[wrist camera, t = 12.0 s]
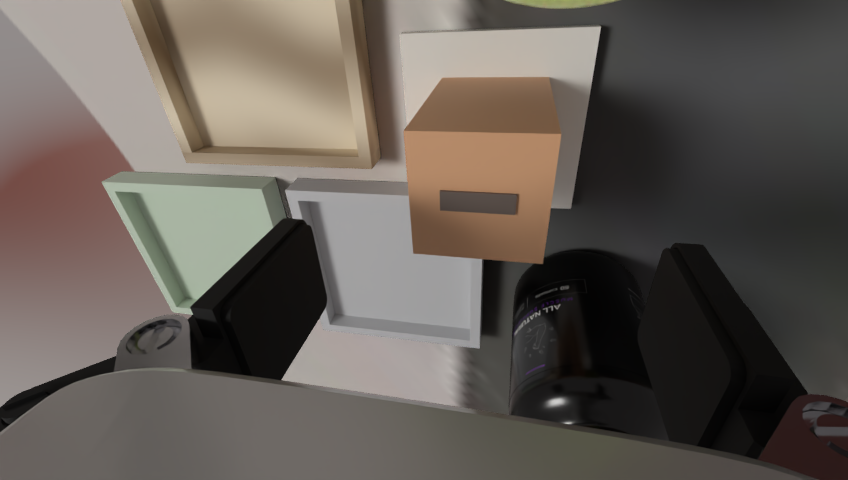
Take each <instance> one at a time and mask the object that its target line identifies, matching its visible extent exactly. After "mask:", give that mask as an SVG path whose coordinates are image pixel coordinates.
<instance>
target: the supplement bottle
mask: <svg viewBox="0 0 848 480" xmlns="http://www.w3.org/2000/svg"><path fill="white" fill-rule="evenodd" d="M645 306H646V305H645V302H644V299H643V296H642V293H641V291H640V288H639V286H638V283H637V281H636V280H635V278H634V276H633V275H632V274H631V273H630V272H629V271H628V270H627V269H626V268H625V267H624V266H623V265H622V264H620V263H619V262H617V261H615V260H613V259H611V258H609V257H607V256H604V255H601V254H598V253H593V252H586V251H569V252H562V253H557V254H554V255H551V256H548V257H546V258H544V259H543V264H536V263H535V264H533V265H532V266H531V267H530V268H528V269H527V270H526V271H525V273H524V274H523V275H522V276H521V278H520V280H519V282H518V284H517V286H516V289H515V295H514V306H513V326H512V347H511V368H510V389H509V415H513V416H520V417H526V418H532V419H539V420H545V421H551V422H557V423H564V424H570V425H576V426H583V427H589V428H595V429H602V430H608V431H614V432H619V433H625V434H631V435H637V436H642V437H648V438H654V439H660V440H666V441H669V438H668V435H667V432H666V429H665V426H664V423H663V419H662V416H661V413H660V410H659V407H658V404H657V401H656V397H655V394H654V391H653V388H652V385H651V382H650V379H649V375H648V372H647V369H646V366H645V363H644V360H643V357H642V353H641V350H640V347H639V344H638V329H639V325H640V322H641V319H642V316H643V312H644V309H645Z"/></svg>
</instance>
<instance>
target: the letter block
mask: <svg viewBox="0 0 848 480" xmlns="http://www.w3.org/2000/svg"><path fill="white" fill-rule="evenodd" d="M560 141H561V129H560V125H559V120H558V116H557V111H556V107H555V102H554V98H553V93H552V89H551V84H550V80H549V77H454V78H442V79H441V80H440V81H439V83H438V84H437V85H436V87H435V88H434V90H433V91H432V92H431V94H430V95H429V96H428V98H427V99H426V101H425V102H424V103H423V105H422V106H421V108H420V109H419V110H418V112H417V113H416V114H415V116H414V117H413V119H412V120H411V121H410V123H409V124H408V125H407V127H406V128H405V130H404V142H405V155H406V168H407V181H408V194H409V206H410V219H411V232H412V245H413V254H425V255H437V256H449V257H462V258H474V259H486V260H499V261H511V262H523V263H536V264H543V259H544V252H545V245H546V238H547V231H548V224H549V218H550V211H551V204H552V197H553V190H554V183H555V176H556V169H557V162H558V155H559V148H560Z"/></svg>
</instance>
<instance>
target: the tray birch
mask: <svg viewBox="0 0 848 480" xmlns="http://www.w3.org/2000/svg"><path fill="white" fill-rule="evenodd" d="M120 1H121V3H122V6H123V8H124V11H125V13H126V16H127V18H128V20H129V23H130V25H131V28H132V30H133V33H134V35H135V38H136V40H137V43H138V45H139V47H140V50H141V52H142V55H143V57H144V60H145V62H146V65H147V67H148V70H149V72H150V74H151V77H152V79H153V82H154V84H155V87H156V89H157V92H158V94H159V97H160V99H161V101H162V104H163V106H164V109H165V111H166V114H167V116H168V119H169V121H170V123H171V126H172V128H173V131H174V133H175V136H176V138H177V141H178V143H179V146H180V148H181V150H182V153H183V155H184V158H185V160H186V163H205V164H236V165H267V166H298V167H329V168H360V169H372V168H373V167H374V166H375V164H376V163H377V162H378V160H379V159H380V158H381V154H380V146H379V138H378V130H377V121H376V113H375V105H374V97H373V89H372V81H371V72H370V64H369V56H368V48H367V40H366V31H365V23H364V15H363V7H362V0H120Z"/></svg>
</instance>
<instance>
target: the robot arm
mask: <svg viewBox="0 0 848 480" xmlns="http://www.w3.org/2000/svg"><path fill="white" fill-rule="evenodd" d="M326 305H327V294H326V289H325V285H324V280H323V276H322V271H321V267H320V262H319V258H318V253H317V249H316V244H315V240H314V235H313V231H312V228H311V226H310V225H307V223H306V222H305V221H304V220H303V219H288V218H284V219H282V220H281V221H280V222H279V223H278V224H276V225H275V226H274V227H273V228H272V229H271V230H270V231H269V232H268V233H267V234H266V235H265V236H264V237H263V238H262V239H261V240H260V241H259V242H258V243H257V244H256V245H254V246H253V247H252V248H251V249H250V250H249V251H248V252H247V253H246V254H245V255H244V256H243V257H242V258H241V259H240V260H239V261H238V262H237V263H236V264H235V265H233V266H232V267H231V268H230V269H229V270H228V271H227V272H226V273H225V274H224V275H223V276H222V277H221V278H220V279H219V280H218V281H217V282H216V283H215V284H214V285H213V286H211V287H210V288H209V289H208V290H207V291H206V292H205V293H204V294H203V295H202V296H201V297H200V298H199V299H198V300H197V301H196V302H195V303H194V304H193V305H192V306H191V307H190V309H191V311H192V313H193V315H192V316H191V317H190V318H189V319H186V318H185V317H183V316H180V315H164V316H159V317H155V318H153V319H150V320H148V321H145V322H143V323H142V324H140V325H138V326H136V327H135V328H133V329H132V330H131V331H130V332H128V333H127V334H126V335H125V336H124V338H123V339H122V340H121V341H120V344H119V346H118V349H117V355H116V356H115V357H112V358H110V359H107V360H104V361H102V362H99V363H96V364H94V365H91V366H89V367H86V368H84V369H81V370H78V371H75V372H73V373H70V374H68V375H65V376H62V377H60V378H57V379H54V380H52V381H49V382H47V383H44V384H41V385H39V386H36V387H33V388H31V389H29V390H26V391H23V392H21V393H19V394H17V395H16V396H14V397H12V398H11V399H10V400H8V401H7V402H6V403H5V404H4V405H3V406H1V407H0V480H848V402H846V401H844V400H842V399H838V398H834V397H831V396H827V395H819V394H808V393H807V391H806V390H805V389H804V387H803V386H802V384H801V383H800V381H799V380H798V378H797V377H796V376H795V374H794V373H793V371H792V370H791V368H790V367H789V366H788V364H787V363H786V361H785V360H784V358H783V357H782V355H781V354H780V353H779V351H778V350H777V348H776V347H775V345H774V344H773V343H772V341H771V340H770V338H769V337H768V335H767V334H766V333H765V331H764V330H763V328H762V327H761V325H760V324H759V322H758V321H757V320H756V318H755V317H754V315H753V314H752V312H751V311H750V310H749V308H748V307H747V306H746V305H745V304H744V303H743V301H742V300H741V299H740V297H739V296H738V294H737V293H736V291H735V290H734V288H733V287H732V286H731V284H730V283H729V281H728V280H727V278H726V277H725V275H724V274H723V273H722V271H721V270H720V268H719V267H718V265H717V264H716V262H715V261H714V260H713V258H712V257H711V255H710V254H709V252H708V251H707V249H706V248H705V247H704V246H703V245H699V244H683V243H675V244H673V245H672V247H671V249H669V248H665V249H664V250H663V252H662V254H661V258H660V261H659V264H658V267H657V271H656V274H655V277H654V280H653V283H652V287H651V290H650V293H649V296H648V300H647V303H646V306H645V309H644V312H643V316H642V319H641V322H640V325H639V329H638V344H639V347H640V350H641V353H642V357H643V360H644V363H645V366H646V369H647V372H648V375H649V379H650V382H651V385H652V388H653V391H654V394H655V397H656V401H657V404H658V407H659V410H660V413H661V416H662V419H663V423H664V426H665V429H666V432H667V435H668V438H669V441H666V440H660V439H654V438H648V437H642V436H637V435H631V434H625V433H619V432H614V431H608V430H602V429H595V428H589V427H583V426H576V425H570V424H564V423H557V422H551V421H545V420H539V419H532V418H526V417H520V416H513V415H507V414H501V413H494V412H488V411H482V410H475V409H469V408H462V407H455V406H449V405H442V404H436V403H429V402H423V401H416V400H410V399H403V398H397V397H390V396H383V395H377V394H370V393H364V392H357V391H350V390H343V389H337V388H330V387H323V386H316V385H309V384H303V383H296V382H289V381H282V380H281V379H282V378H283V376H284V374H285V373H286V371H287V369H288V368H289V366H290V365H291V363H292V361H293V360H294V358H295V357H296V355H297V353H298V352H299V350H300V349H301V347H302V345H303V344H304V342H305V341H306V339H307V337H308V336H309V334H310V332H311V331H312V329H313V328H314V326H315V324H316V323H317V321H318V320H319V318H320V316H321V315H322V313H323V312H324V310H325V308H326Z"/></svg>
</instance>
